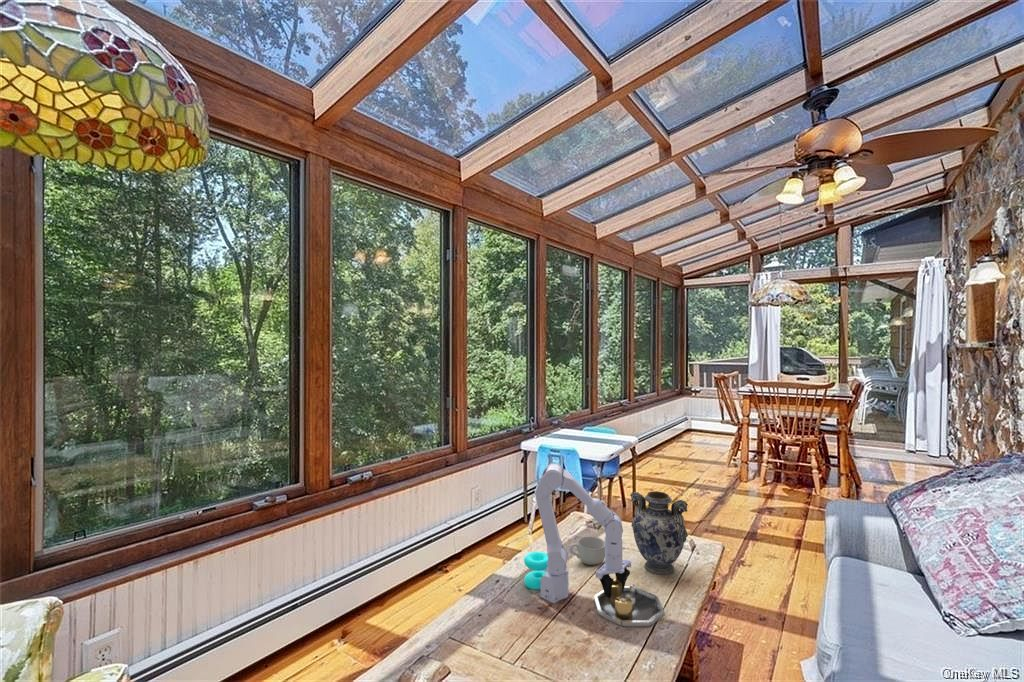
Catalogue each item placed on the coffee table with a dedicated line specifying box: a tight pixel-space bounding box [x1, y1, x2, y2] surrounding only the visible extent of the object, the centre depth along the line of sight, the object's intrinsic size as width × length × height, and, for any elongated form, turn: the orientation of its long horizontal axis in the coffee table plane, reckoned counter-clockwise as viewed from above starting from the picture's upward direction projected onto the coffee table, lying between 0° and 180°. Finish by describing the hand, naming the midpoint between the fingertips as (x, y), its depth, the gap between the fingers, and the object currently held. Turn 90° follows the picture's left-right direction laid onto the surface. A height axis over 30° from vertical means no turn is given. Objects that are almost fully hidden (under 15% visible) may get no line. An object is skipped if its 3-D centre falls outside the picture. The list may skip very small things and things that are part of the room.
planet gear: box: [606, 578, 622, 602], centre depth 156 cm, size 5×5×5 cm
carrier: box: [593, 583, 665, 628], centre depth 151 cm, size 21×21×7 cm
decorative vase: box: [629, 491, 689, 576], centre depth 178 cm, size 21×19×28 cm
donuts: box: [523, 551, 548, 590], centre depth 167 cm, size 10×10×10 cm
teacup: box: [569, 535, 605, 567], centre depth 184 cm, size 14×11×8 cm
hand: (613, 593), depth 156 cm, fingers closed on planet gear, 5 cm apart
